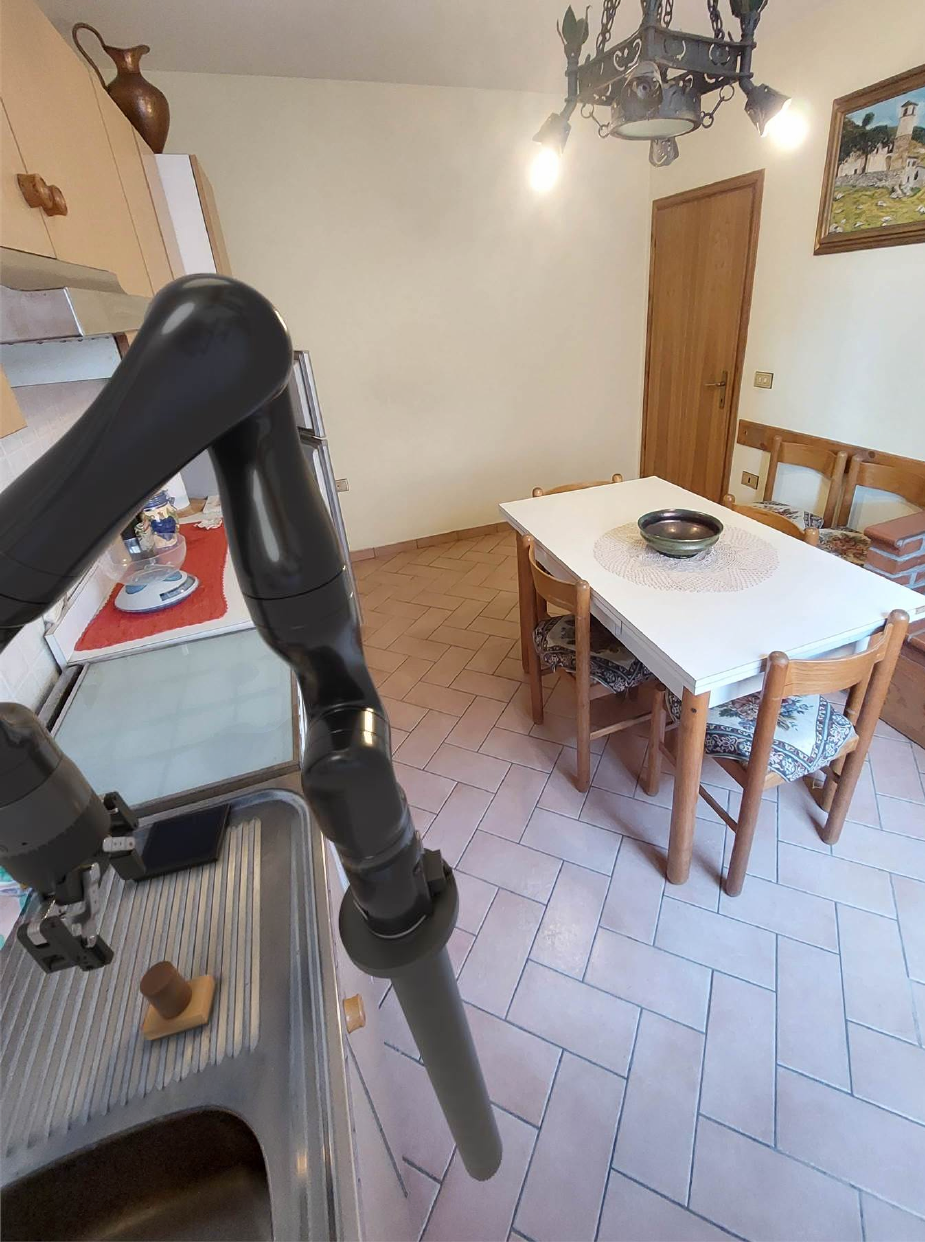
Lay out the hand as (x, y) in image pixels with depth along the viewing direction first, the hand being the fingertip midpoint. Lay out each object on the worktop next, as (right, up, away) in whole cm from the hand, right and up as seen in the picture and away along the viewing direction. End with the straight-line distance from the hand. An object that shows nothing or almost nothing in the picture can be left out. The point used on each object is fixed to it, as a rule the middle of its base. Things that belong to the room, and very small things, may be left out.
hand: (120, 916), depth 55 cm
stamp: (+2, -16, +7) cm, 17 cm away
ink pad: (-9, -6, +26) cm, 28 cm away
